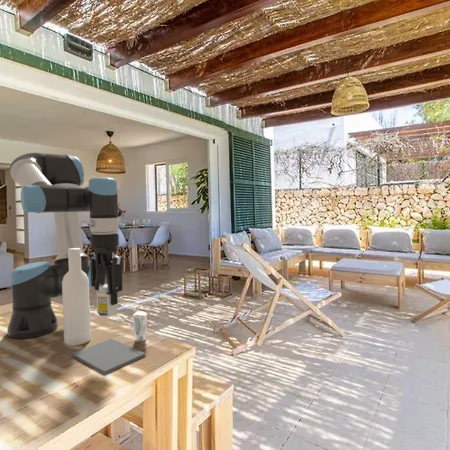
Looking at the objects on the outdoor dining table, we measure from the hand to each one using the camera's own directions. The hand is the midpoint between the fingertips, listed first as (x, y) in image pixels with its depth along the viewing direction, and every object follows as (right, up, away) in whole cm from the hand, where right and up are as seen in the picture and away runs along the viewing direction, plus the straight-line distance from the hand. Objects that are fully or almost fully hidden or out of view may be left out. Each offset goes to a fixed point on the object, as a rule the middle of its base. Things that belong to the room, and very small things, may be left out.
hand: (107, 313), depth 95 cm
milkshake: (+7, -12, +12) cm, 18 cm away
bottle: (-14, -12, +12) cm, 22 cm away
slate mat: (0, -13, +1) cm, 13 cm away
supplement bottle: (0, -1, 0) cm, 1 cm away
